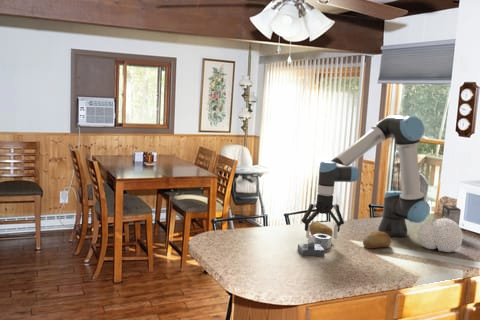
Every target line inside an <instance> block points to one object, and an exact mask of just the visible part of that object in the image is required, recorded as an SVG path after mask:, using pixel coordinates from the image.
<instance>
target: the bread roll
mask: <svg viewBox="0 0 480 320" xmlns="http://www.w3.org/2000/svg"><path fill="white" fill-rule="evenodd" d="M391 243H392V239H391V236H389V234H387V233H385V232H382V231H378V230H372V231H369V232H367V234H365V236H364V238H363V241H362V245H363V247H365V248H366V249H376V248H378V249H379V248H385V247H389V246H390V245H391Z"/></svg>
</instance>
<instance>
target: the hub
mask: <svg viewBox="0 0 480 320" xmlns="http://www.w3.org/2000/svg"><path fill="white" fill-rule="evenodd" d="M314 236H315V244H320V245H321V247H322V248H323V249H324V250H329V249H330V248H332V247H331V244H332V237H330V236H329V235H326V234H314Z"/></svg>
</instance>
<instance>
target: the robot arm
mask: <svg viewBox="0 0 480 320" xmlns="http://www.w3.org/2000/svg"><path fill="white" fill-rule="evenodd" d="M424 126H425V125H424V123H423V121H422V120H421V119H420V118H418V117H417V116H413V115H409V114H408V115H407V114H390V115H388V116H386V117H384V118H382V119H380V120H379V121H378V122H376V123H375V124H373V125H372V126H371V128H370V130H369V131H368V132H367V133H365V134H364V135H363V136H360V138H358V139H357V140H356V141H355V142H353V143H352V144H350V145H349V146H348V147H347V148H346V149H344V150H343V151H342V152H341V153H339V154H338V155H336V157H334V158H332V159H331V160H321V162H320V163H319V167H318V168H319V170H318V181H317V182H318V184H317V194H316V203H312V202H310V203H309V205H308V208H307V211H305V213H304V215H303V217H302V219H301V222H302V224H304V231H305V233H306V234H305V238H306V239H309V235H310V224H311V223H312V222H313V220H314V219H315V218H316V217H317V216H318V215H320V214H321V215H323V214H324V215H328V214H329V215H330V217H331V218H332V219H333V221H334V222H335V224H334V226H333V227H334V228H333V239H335V240H337V239H338V233H339V232H340V230H341V229H340V228H341V226H342V225H344V224H345V222H344V219H343V216H342V214H341V212H340V205H338V204H337V203H336V204H333V201H334V194H335V193H334V192H335V183H340V182H341V183H342V182H343V183H344V182H345V183H346V182H347V183H351V182H356V181H358V179H359V175H360V171H359V169H358V167H357V166H354V165H352V164H353V163H355V162H356V161H357V160H359V159H360V158H361V157H362V156H364V155H365V154H366V153H368V152H369V151H371V149H372V148H375V146H377V145H378V144H380V143H383V142H386V140H388V139H391V138H394V145H395V146H397V147H398V153H399V156H398V157H399V165H400V167H399V169H400V177H401V178H400V180H401V189H402V190H388V191H385V192H384V197H383V208H382V209H383V211H382V218H381V220H380V223H379V225H378V227H377V231H382V232H385V233H387V234H389V236H390V237H394V238H395V237H396V238H403V237H407V236H408V232H409V231H408V228H407V223H406V220H408V221H409V222H412V223H416V224H418V223H422V222H424V221H425V220H427V218H428V217H429V215H430V212H431V207H430V204H429V203H428V202H427V201H425V194H424V193H423V192H422V191H421V183H420V182H421V181H420V170H419V157H418V156H419V155H418V145H419V143H420V142H421V140H420V139H422V137H423V135H424V133H425V127H424ZM314 208H315V209H314ZM333 209H334V210H335V213H336V216H337V217H336V216H335V214H334V213H333V211H332V210H333ZM313 210H314V211H313ZM312 211H313V212H312ZM337 218H338V219H337Z"/></svg>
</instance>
